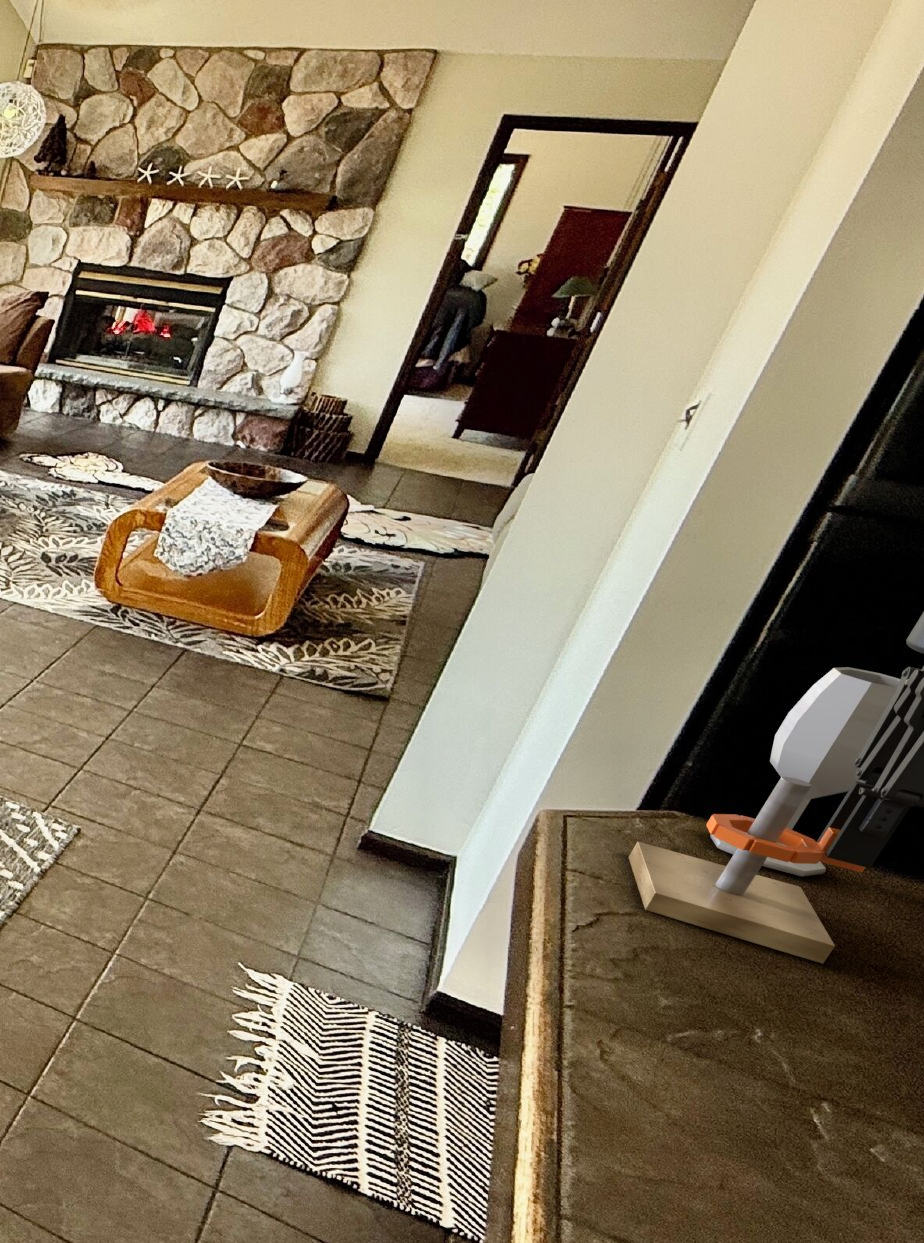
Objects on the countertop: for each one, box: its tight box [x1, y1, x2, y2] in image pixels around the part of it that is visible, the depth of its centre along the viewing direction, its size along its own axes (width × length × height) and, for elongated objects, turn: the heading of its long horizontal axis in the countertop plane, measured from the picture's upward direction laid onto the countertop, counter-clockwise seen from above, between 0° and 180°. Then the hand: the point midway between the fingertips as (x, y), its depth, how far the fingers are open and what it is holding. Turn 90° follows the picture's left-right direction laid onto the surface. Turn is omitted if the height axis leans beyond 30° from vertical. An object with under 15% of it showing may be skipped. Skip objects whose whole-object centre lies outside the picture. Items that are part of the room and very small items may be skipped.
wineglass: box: [710, 666, 901, 877], centre depth 121 cm, size 9×9×21 cm
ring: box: [705, 813, 866, 873], centre depth 110 cm, size 10×7×3 cm
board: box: [628, 777, 836, 965], centre depth 112 cm, size 12×14×14 cm
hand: (843, 854), depth 108 cm, fingers closed on ring, 3 cm apart
